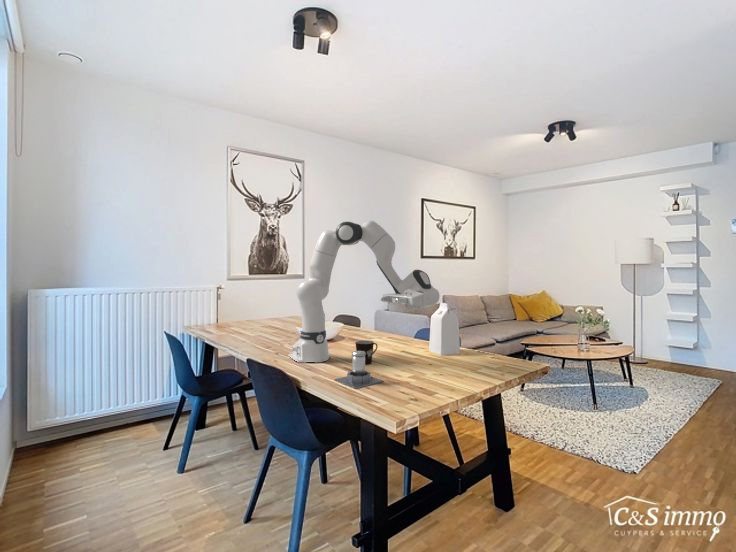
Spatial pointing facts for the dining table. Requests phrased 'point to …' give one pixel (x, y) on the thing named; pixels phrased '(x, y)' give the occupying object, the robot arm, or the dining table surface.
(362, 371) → the grey metal cylinder
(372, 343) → the coffee mug
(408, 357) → the dining table surface
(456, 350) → the milk
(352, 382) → the duct collar
